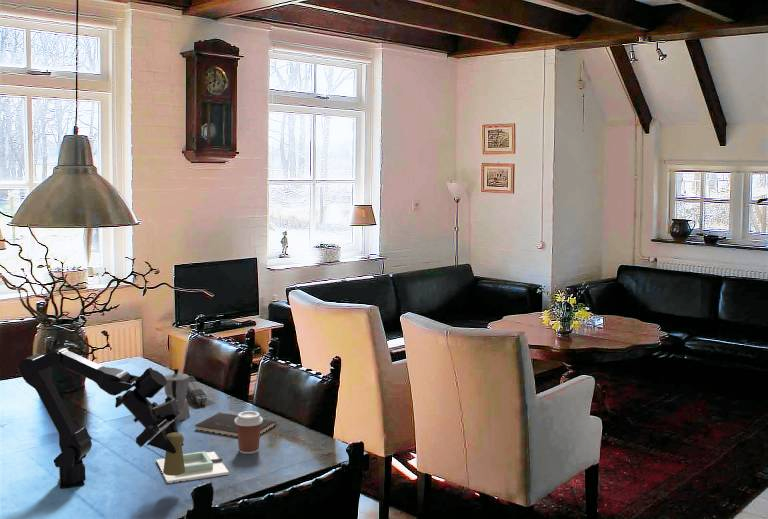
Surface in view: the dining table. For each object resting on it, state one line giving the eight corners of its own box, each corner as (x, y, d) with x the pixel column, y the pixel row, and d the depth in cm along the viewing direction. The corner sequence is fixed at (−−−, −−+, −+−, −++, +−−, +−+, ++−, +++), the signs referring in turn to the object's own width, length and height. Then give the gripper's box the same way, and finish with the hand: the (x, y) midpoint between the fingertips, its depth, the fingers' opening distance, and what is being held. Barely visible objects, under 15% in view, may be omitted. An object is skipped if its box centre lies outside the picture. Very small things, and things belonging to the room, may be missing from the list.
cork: (175, 465, 233) (175, 428, 231) (189, 470, 229) (189, 433, 228) (158, 471, 228) (158, 434, 226) (173, 477, 224) (173, 439, 223)
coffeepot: (165, 411, 299) (164, 364, 296) (191, 411, 300) (190, 363, 298) (160, 425, 284) (159, 375, 281) (188, 424, 285) (187, 374, 283)
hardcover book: (252, 441, 271) (252, 434, 271) (194, 431, 280) (194, 425, 279) (276, 426, 286) (276, 420, 286) (220, 418, 295) (220, 411, 294)
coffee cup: (231, 447, 264) (231, 411, 262) (259, 443, 268) (259, 408, 266) (238, 457, 256) (237, 420, 254) (266, 453, 259) (266, 417, 258)
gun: (191, 389, 326) (193, 369, 322) (205, 419, 311) (208, 397, 307) (180, 391, 324) (182, 370, 320) (194, 421, 308) (196, 399, 304)
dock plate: (167, 483, 234) (167, 474, 234) (156, 462, 250) (156, 453, 250) (230, 474, 242) (230, 465, 241) (215, 453, 258) (215, 445, 258)
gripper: (146, 399, 217) (186, 442, 217) (173, 380, 235) (210, 420, 235) (118, 425, 219) (157, 468, 219) (147, 405, 237) (183, 444, 237)
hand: (178, 449), depth 228 cm, fingers closed on cork, 5 cm apart
